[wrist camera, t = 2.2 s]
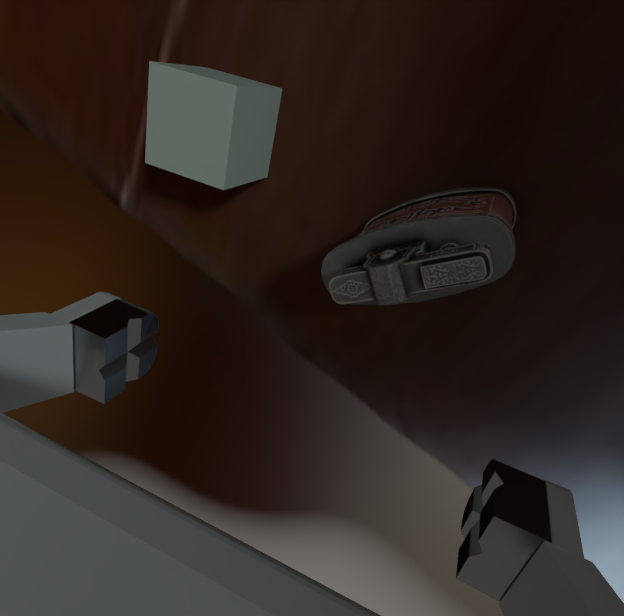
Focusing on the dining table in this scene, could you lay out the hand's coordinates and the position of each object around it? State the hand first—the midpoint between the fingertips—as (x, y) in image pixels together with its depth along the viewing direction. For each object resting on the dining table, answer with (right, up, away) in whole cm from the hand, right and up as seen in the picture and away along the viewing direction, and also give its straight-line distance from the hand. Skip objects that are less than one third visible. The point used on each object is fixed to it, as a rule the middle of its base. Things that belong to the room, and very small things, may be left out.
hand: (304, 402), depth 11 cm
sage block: (-4, +13, +17) cm, 22 cm away
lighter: (+7, +7, +15) cm, 18 cm away
